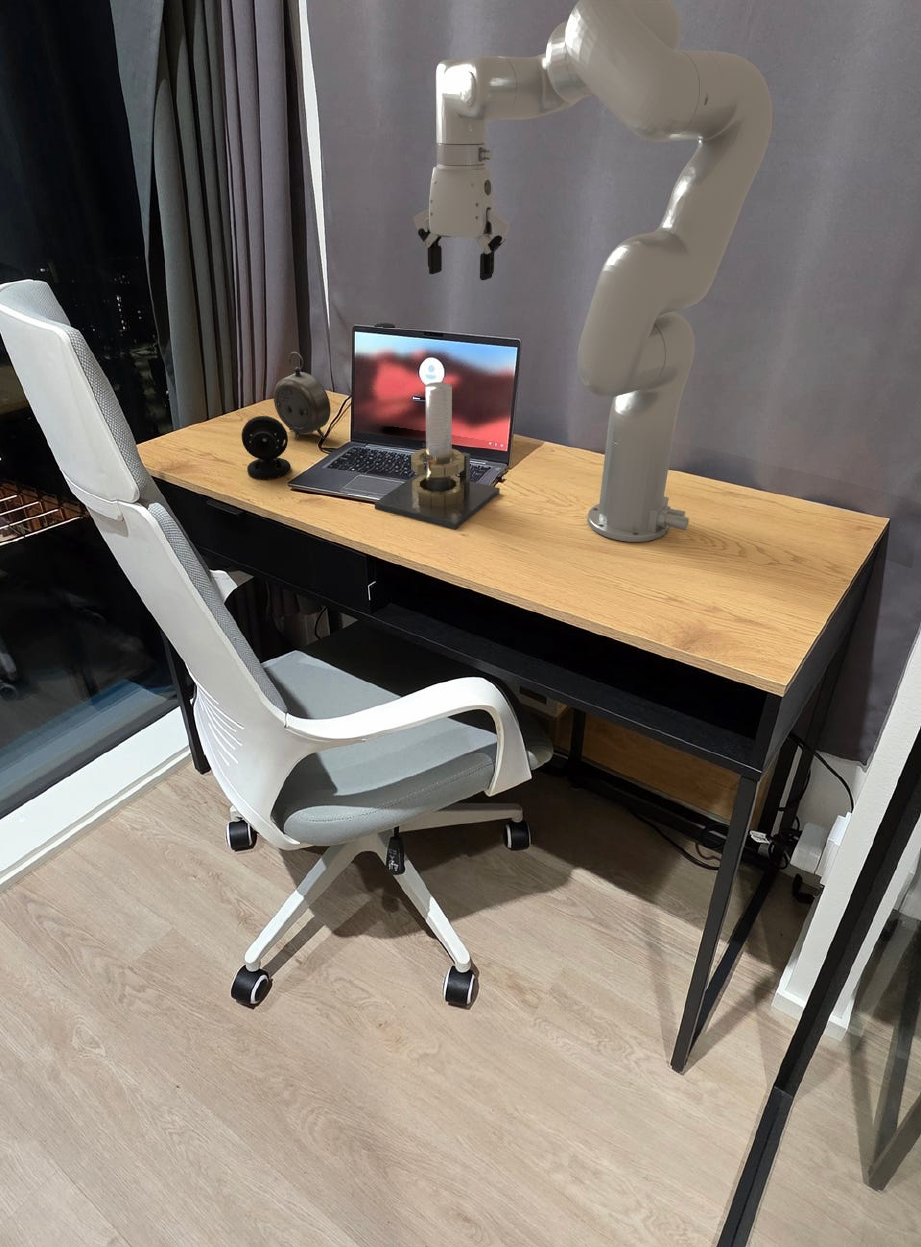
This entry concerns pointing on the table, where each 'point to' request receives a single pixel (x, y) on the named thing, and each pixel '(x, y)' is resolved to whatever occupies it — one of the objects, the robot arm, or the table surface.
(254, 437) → the webcam
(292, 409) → the alarm clock
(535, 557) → the table surface
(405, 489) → the collar stand
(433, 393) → the steel tube
